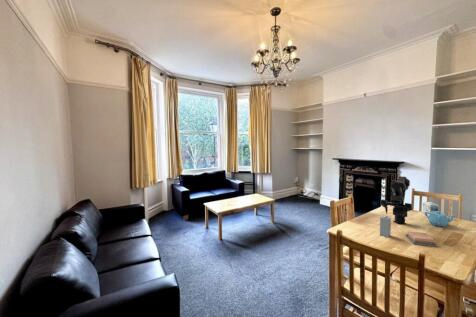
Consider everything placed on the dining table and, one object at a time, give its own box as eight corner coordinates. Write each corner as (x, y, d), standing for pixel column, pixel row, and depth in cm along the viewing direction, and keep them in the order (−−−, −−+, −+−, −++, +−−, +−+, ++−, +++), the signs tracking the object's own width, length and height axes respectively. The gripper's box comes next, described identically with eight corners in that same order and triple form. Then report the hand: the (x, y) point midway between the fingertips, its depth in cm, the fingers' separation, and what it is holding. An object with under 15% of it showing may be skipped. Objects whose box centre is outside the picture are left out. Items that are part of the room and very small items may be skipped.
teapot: (423, 222, 172) (423, 209, 171) (440, 221, 172) (440, 208, 171) (438, 229, 159) (438, 215, 158) (456, 227, 159) (456, 213, 158)
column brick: (382, 233, 154) (382, 214, 153) (390, 235, 150) (390, 216, 149) (379, 235, 151) (380, 216, 150) (388, 237, 147) (388, 218, 146)
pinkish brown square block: (405, 236, 148) (405, 230, 148) (426, 238, 144) (426, 232, 144) (413, 244, 137) (413, 238, 136) (436, 246, 133) (436, 240, 133)
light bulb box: (439, 217, 180) (439, 205, 180) (429, 217, 182) (430, 205, 181) (430, 213, 191) (430, 201, 190) (421, 213, 192) (422, 201, 191)
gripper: (380, 189, 161) (377, 207, 154) (412, 192, 147) (410, 212, 141) (382, 196, 167) (379, 214, 160) (413, 200, 154) (411, 220, 147)
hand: (394, 215), depth 152 cm, fingers open, 9 cm apart
